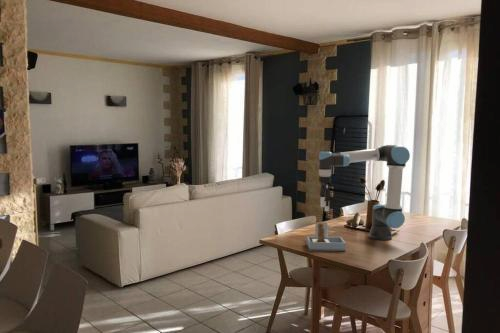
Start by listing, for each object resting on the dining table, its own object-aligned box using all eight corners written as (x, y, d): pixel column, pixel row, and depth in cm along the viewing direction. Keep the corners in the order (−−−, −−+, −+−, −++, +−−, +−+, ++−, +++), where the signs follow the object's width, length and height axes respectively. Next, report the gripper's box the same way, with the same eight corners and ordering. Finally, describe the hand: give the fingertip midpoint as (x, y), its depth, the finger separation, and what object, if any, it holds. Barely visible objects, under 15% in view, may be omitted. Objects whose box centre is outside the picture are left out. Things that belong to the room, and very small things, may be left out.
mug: (320, 241, 265) (321, 225, 264) (312, 238, 272) (312, 222, 272) (334, 239, 272) (334, 223, 271) (325, 236, 279) (326, 221, 278)
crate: (340, 244, 259) (340, 237, 259) (345, 251, 245) (345, 243, 245) (306, 244, 259) (306, 236, 259) (309, 250, 245) (309, 242, 245)
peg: (323, 244, 254) (324, 223, 253) (324, 246, 250) (325, 224, 249) (317, 244, 254) (317, 223, 253) (318, 246, 250) (318, 224, 249)
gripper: (315, 173, 265) (315, 205, 267) (322, 178, 240) (322, 213, 242) (326, 173, 265) (326, 205, 267) (335, 178, 241) (334, 212, 242)
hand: (324, 209), depth 255 cm, fingers open, 13 cm apart
